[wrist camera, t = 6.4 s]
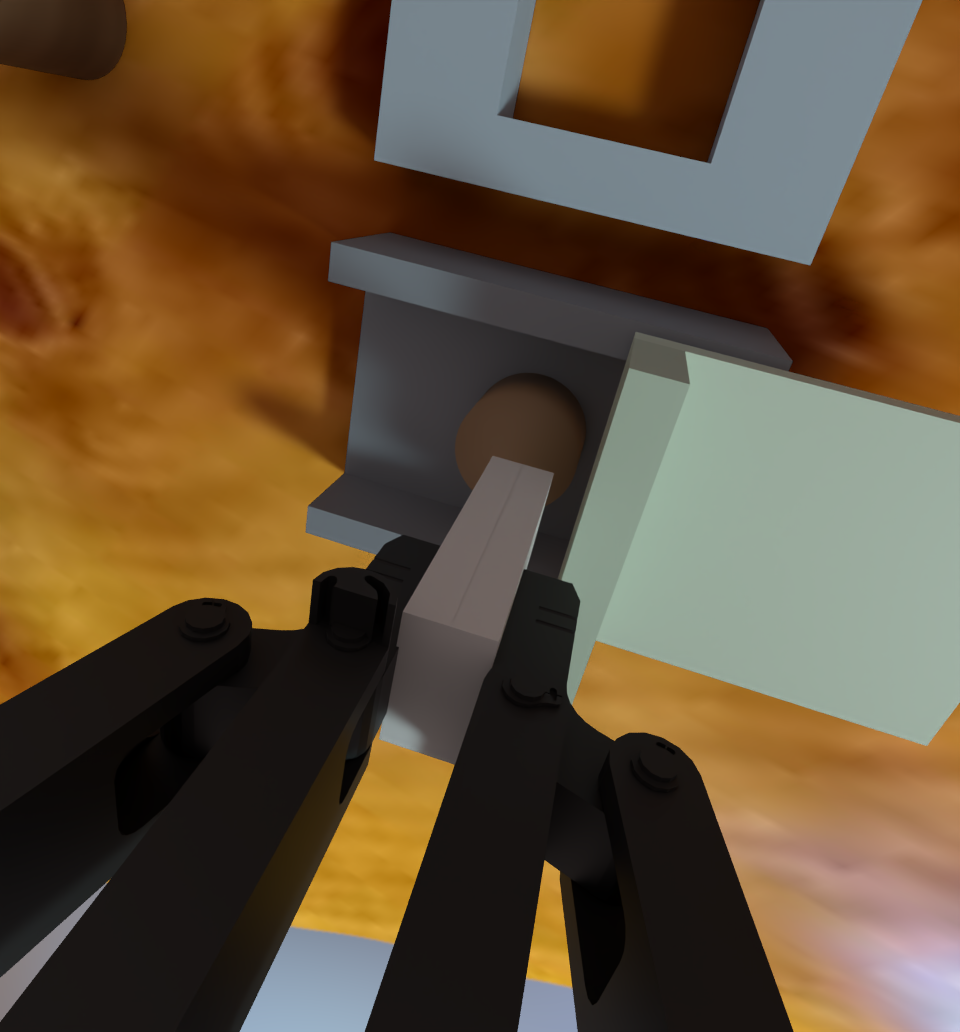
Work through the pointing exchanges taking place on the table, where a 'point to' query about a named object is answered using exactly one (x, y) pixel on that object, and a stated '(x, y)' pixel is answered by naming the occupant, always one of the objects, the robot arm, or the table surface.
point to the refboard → (486, 385)
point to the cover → (775, 538)
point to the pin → (63, 36)
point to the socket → (637, 171)
